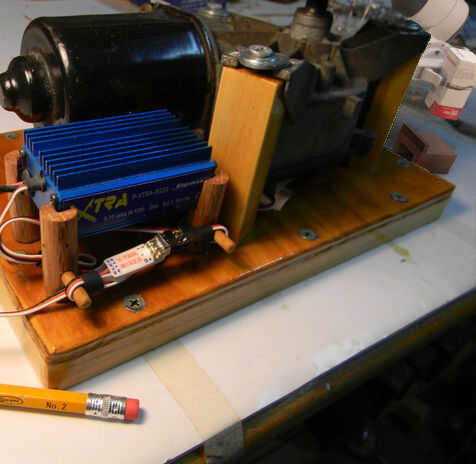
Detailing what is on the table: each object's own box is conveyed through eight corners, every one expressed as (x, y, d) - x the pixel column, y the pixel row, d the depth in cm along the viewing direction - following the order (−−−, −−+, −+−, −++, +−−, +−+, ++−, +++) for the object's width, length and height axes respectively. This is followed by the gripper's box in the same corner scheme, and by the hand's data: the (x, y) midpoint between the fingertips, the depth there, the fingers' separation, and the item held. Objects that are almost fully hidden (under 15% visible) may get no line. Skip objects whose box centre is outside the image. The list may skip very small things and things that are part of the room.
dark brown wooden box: (424, 150, 108) (437, 124, 104) (447, 173, 101) (462, 146, 97) (392, 148, 108) (403, 122, 103) (412, 172, 100) (425, 144, 96)
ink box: (457, 121, 97) (487, 64, 89) (432, 117, 97) (460, 60, 90) (446, 104, 103) (473, 50, 96) (423, 101, 104) (448, 46, 96)
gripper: (386, 41, 103) (416, 64, 92) (473, 48, 105) (512, 71, 94) (375, 69, 107) (402, 95, 96) (459, 75, 109) (495, 101, 98)
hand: (457, 83), depth 95 cm, fingers closed on ink box, 5 cm apart
